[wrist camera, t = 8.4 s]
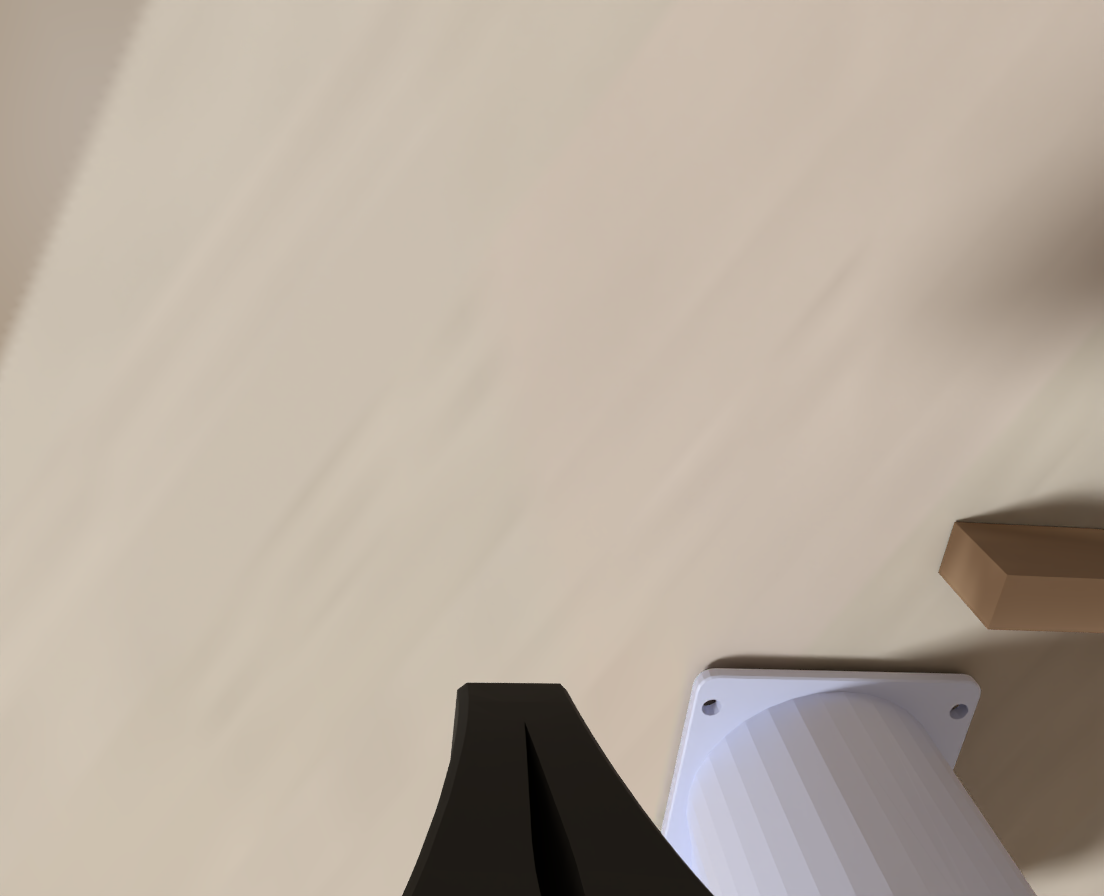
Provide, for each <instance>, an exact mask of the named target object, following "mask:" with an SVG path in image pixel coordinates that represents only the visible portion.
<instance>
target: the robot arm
mask: <svg viewBox="0 0 1104 896" xmlns="http://www.w3.org/2000/svg"><path fill="white" fill-rule="evenodd" d="M980 695H981V689H980V686H979V685H978V683H977V682H976V681H975V680H974V678H972V677H971V676H970V675H966V674H946V673H903V672H860V671H818V670H775V669H732V668H712V669H707V670H705V671H703V672H701V673H700V674H699V675H698V676H697V677H696V678H695V681H694V683H693V687H692V692H691V696H690V701H689V706H688V710H687V715H686V719H685V724H684V729H683V733H682V738H681V742H680V747H679V752H678V756H677V761H676V765H675V770H674V775H673V779H672V784H671V788H670V793H669V798H668V802H667V807H666V811H665V816H664V821H663V825H662V830H661V832H660V831H659V830H658V828H657V827H656V826H655V825H654V823H653V822H652V821H651V819H650V818H649V817H648V815H647V814H646V813H645V811H644V810H643V809H642V807H641V806H640V804H639V803H638V802H637V800H636V799H635V797H634V796H633V794H632V793H631V792H630V790H629V789H628V787H627V786H626V785H625V783H624V782H623V780H622V779H621V778H620V776H619V775H618V773H617V772H616V770H615V769H614V767H613V766H612V764H611V763H610V761H609V760H608V758H607V757H606V755H605V754H604V752H603V751H602V749H601V747H600V746H599V744H598V743H597V741H596V740H595V738H594V736H593V735H592V733H591V732H590V730H589V728H588V727H587V725H586V723H585V722H584V720H583V718H582V717H581V715H580V713H579V711H578V710H577V708H576V706H575V705H574V703H573V701H572V699H571V697H570V696H569V694H568V692H567V691H566V689H565V688H564V687H563V686H562V685H561V684H546V683H466V684H465V685H463V686H462V687H461V688H459V689H458V690H457V699H456V709H455V719H454V730H453V740H452V750H451V760H450V764H449V767H448V771H447V774H446V778H445V782H444V785H443V789H442V792H441V796H440V799H439V802H438V806H437V809H436V812H435V814H434V817H433V820H432V822H431V825H430V828H429V831H428V833H427V836H426V839H425V841H424V844H423V847H422V849H421V852H420V855H419V857H418V860H417V862H416V865H415V867H414V870H413V872H412V874H411V877H410V879H409V881H408V884H407V886H406V888H405V890H404V893H403V895H402V896H1037V895H1036V894H1035V892H1034V891H1033V889H1032V888H1031V886H1030V885H1029V883H1028V882H1027V880H1026V879H1025V877H1024V876H1023V874H1022V873H1021V871H1020V870H1019V868H1018V867H1017V865H1016V864H1015V862H1014V861H1013V859H1012V858H1011V856H1010V855H1009V853H1008V852H1007V851H1006V849H1005V848H1004V846H1003V845H1002V843H1001V842H1000V840H999V839H998V837H997V836H996V834H995V833H994V831H993V830H992V828H991V827H990V825H989V824H988V822H987V821H986V819H985V818H984V816H983V815H982V813H981V812H980V810H979V809H978V807H977V806H976V804H975V803H974V801H973V800H972V798H971V797H970V795H969V794H968V792H967V791H966V790H965V788H964V787H963V785H962V784H961V782H960V781H959V779H958V778H957V776H956V775H955V773H954V772H953V769H954V767H955V764H956V761H957V758H958V756H959V753H960V750H961V748H962V745H963V742H964V739H965V737H966V734H967V731H968V728H969V726H970V723H971V720H972V718H973V715H974V712H975V709H976V707H977V704H978V701H979V699H980ZM713 699H714V700H716V702H714V703H713V704H711V705H707V706H705V705H703V704H704V703H705V702H707V701H708V700H713ZM956 705H959V706H958V707H956V708H955V709H952V708H953V707H954V706H956Z"/></svg>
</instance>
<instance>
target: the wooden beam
mask: <svg viewBox="0 0 1104 896" xmlns="http://www.w3.org/2000/svg"><path fill="white" fill-rule="evenodd" d="M938 573H939V574H940V575H941V576H942V577H943V578H944V580H945V581H946V582H947V583H948V584H949V585H950V586H951V588H952V589H953V590H954V591H955V592H956V593H957V594H958V596H959V597H960V598H961V599H962V600H963V601H964V602H965V604H966V605H967V606H968V607H969V608H970V609H971V610H972V612H973V613H974V614H975V615H976V616H977V617H978V618H979V620H980V621H981V622H982V623H983V624H984V625H985V627H986V628H987V629H993V630H1025V631H1058V632H1090V633H1104V529H1090V528H1070V527H1049V526H1029V525H1009V524H988V523H968V522H955V523H954V526H953V529H952V532H951V535H950V538H949V541H948V544H947V547H946V551H945V554H944V557H943V560H942V563H941V566H940V569H939V572H938Z"/></svg>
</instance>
